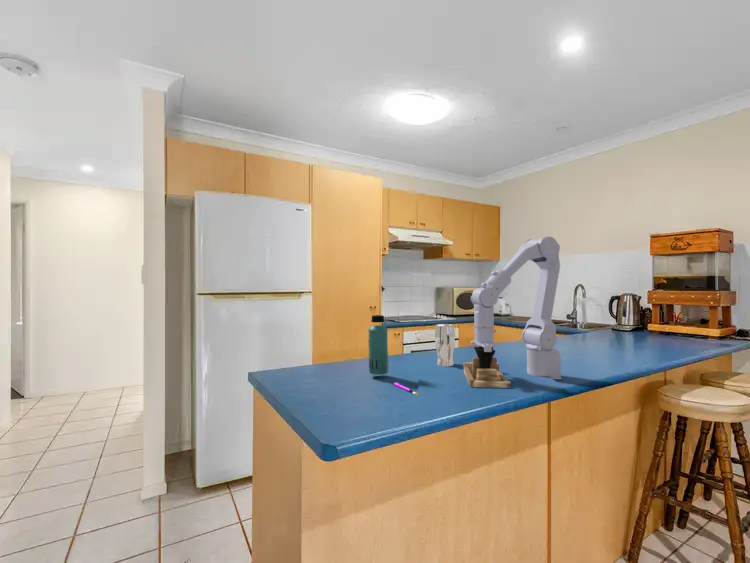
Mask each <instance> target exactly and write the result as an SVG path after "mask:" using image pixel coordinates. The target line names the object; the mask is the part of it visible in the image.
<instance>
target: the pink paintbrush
mask: <svg viewBox="0 0 750 563" xmlns="http://www.w3.org/2000/svg"><path fill="white" fill-rule="evenodd" d="M393 386H394V387H396V388H398V389H401V390H404V391H405V392H408V393H411V394H412V393H413V394H414V395H415V396H416V397H418V395H419V392H414V390H412V389H410V388H409V387H406V386H405V385H404V384H401V383H399V382H394V384H393Z"/></svg>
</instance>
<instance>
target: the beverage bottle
mask: <svg viewBox="0 0 750 563" xmlns="http://www.w3.org/2000/svg"><path fill="white" fill-rule="evenodd" d="M370 322H371V323H384V322H385V316H384V315H382V314H381V315H380V314H375V315H372V316H371V321H370ZM388 330H389V329H388V328H387V327H386V326H385V325H381V324H377V325H376V324H374V325H371V326H369V328H368V340H367V342H368V372H369V374H371V375H380V376H381V375H387V374H388V372H389V350H388Z"/></svg>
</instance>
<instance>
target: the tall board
mask: <svg viewBox="0 0 750 563" xmlns="http://www.w3.org/2000/svg"><path fill="white" fill-rule="evenodd" d="M471 361H472V362H471V363H472V375H473V378H474V379H476V375H477V369H481V368H480V361H479V358H478V357H472V360H471ZM497 363H498V358H496V357H493V358H492V361H491V365H490V369H496V370H497Z"/></svg>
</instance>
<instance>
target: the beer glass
mask: <svg viewBox="0 0 750 563" xmlns="http://www.w3.org/2000/svg"><path fill="white" fill-rule="evenodd" d="M434 329H435V330H434V340H435V349H436V354H437V362H436V366H441V367H451V366H454V365H455V364H454V359H453V358H454V356H453V354H454V348H455V343H456V342H455V341H456V340H455V339H456V333H455V325H454V324H450V323H438V324H435V328H434Z"/></svg>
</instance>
